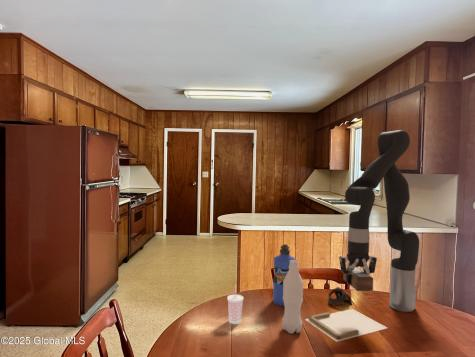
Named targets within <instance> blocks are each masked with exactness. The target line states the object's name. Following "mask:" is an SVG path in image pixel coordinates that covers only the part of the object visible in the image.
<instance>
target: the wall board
mask: <svg viewBox="0 0 475 357" xmlns="http://www.w3.org/2000/svg"><path fill="white" fill-rule="evenodd" d="M304 320H305V321H306V322H308V323H309V324H311V325H312V326H313V327H315V328H316V329H318V330H320V331H321V332H322V333H324V334H325V336H328V337H329V338H330V339H332V340H334V341H335V342H336V343H338V342H342V341H345V340H349V339H353V338H356V337H360V336H363V335H367V334H371V333H375V332H378V331H383V330H386V329H388V327H387V326H385V325H384V324H382V323H379V322H377V321H376V320H374V319H372V318H370V317H368V316H367V315H365V314H362V313H360V312H359V311H357V310H355V309H353V308H350V309H346V310H341V311H337V312H332V313H330V312H329V311H328V312H323V313H319V314H314V315H309V316H308V318H305V319H304Z"/></svg>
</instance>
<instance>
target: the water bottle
mask: <svg viewBox="0 0 475 357" xmlns="http://www.w3.org/2000/svg"><path fill="white" fill-rule="evenodd" d="M299 268H300V267H299V260H290V265H289V271H288V273H287V275H286V277H285V279H284V281H283V301H284V306H283V307H284V312H283V313H284V314H283V317H282V319H281V324H282V329H283V330H284V331H285V332H286V333H288V334H289V335H291V334H294V333H296V334H298V333H300V332H301V330H302V328H303V320H302V318H301V317H302V316H301V307H302V304H303V303H304V298H303V297H304V296H303V295H304V294H303V293H304V281H303V278H302V277H301V275H300V272H299Z"/></svg>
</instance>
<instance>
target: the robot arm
mask: <svg viewBox="0 0 475 357" xmlns="http://www.w3.org/2000/svg"><path fill="white" fill-rule="evenodd" d="M410 143H411V138H410V135H409V133H408V132H407V131H406V130H403V129H400V130H399V129H397V130H392V131H384V132H381V133H380V134H378V137H377V149H378V155H379V156H378V157H377V158H376V159H375V160H373V161H372V162H371V163H370V164H368V166H367V167H366V168H365V170H364V171H363V173H362V175H361V176H360V177H359V178H357V179H356V180H355V181H354V182H352V183H351V184H350V185H349V186H348V187H346V190H345V193H344V198H345V201H346V203H347V204H350V205H353V206H359V209H358V210H355V211H351V212H349V214H348V215H349V216H348V219H349V220H348V231H347V254H346V255H344V256H342V255H340V256H339V258H338V259H339V265H340V272H342V274H343V273H344V274H346V281H345V282H346V283H347V285H349V286H351V276H352V275H351V273H352V271H353V270H354V269H355V268H359V267H360V268H362V269H361V270H362V271H363V272H365V273H366V274H368V275H369V276H370V274H374V273H375V270H376V266H377V261H378V258H377V257H375V256H374V255H370V254H369V253H370V238H371V237H370V216H371V214H372V209H373V207H374V204H375V201H376V194H375V192H374V190H375V189H376V188H378V187H379V185H380V183H381V182H382V180H383V187H384V197H385V204H386V217H387V219H386V220H387V229H386V230H387V242H388V244H389V247H390V248H392V249H393V250H397V251H399V252H400V253H399V254H400V255H399V257H395V258H392V259H391V262H390V282H389V283H390V284H389V307H390V308H391V309H393V310H396V311H398V312H403V313H412V312H413V311H414V310H415V309H416V300H417V299H416V297H417V296H416V294H417V293H416V292H417V286H416V266H417V263H418V261H419V251H420V238H419V235H418V234H417V232H414V231H412V230H407V229H404V227H403V215H404V213H405V211H406V209H407V208H408V205H409V203H410V200H411V199H410V198H411V196H410V187H409V182H408V180H407V179H406V178H405V176H404V175H403V174H402V172H401V171H400V170H399V169H398V167H397V165H396V162H397V161H398V160H399V159H400V158H401V157H402V156H403V155H404V154H405V153H406V152H407V150H408V149H409V146H410V145H411V144H410ZM347 261H348V263H347ZM368 261H369V263H368ZM346 263H347V264H346ZM367 263H368V264H367ZM346 268H347V269H346Z"/></svg>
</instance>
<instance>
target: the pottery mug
mask: <svg viewBox="0 0 475 357" xmlns="http://www.w3.org/2000/svg"><path fill="white" fill-rule="evenodd" d="M333 294H334V295H335V298H334V297H332V295H333ZM327 295H328V301H327V302H328V304H329V305H333V306H338V305H345V301H346V302H348V303H350V305H351V306H353V302H352V298H351V295H350V294H349V293H348V292H347V291H345V290H344V289H343V288H341V287H339V286H338V287H335V288H333V289H331V290H330V291H329V293H328V294H327Z"/></svg>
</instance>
